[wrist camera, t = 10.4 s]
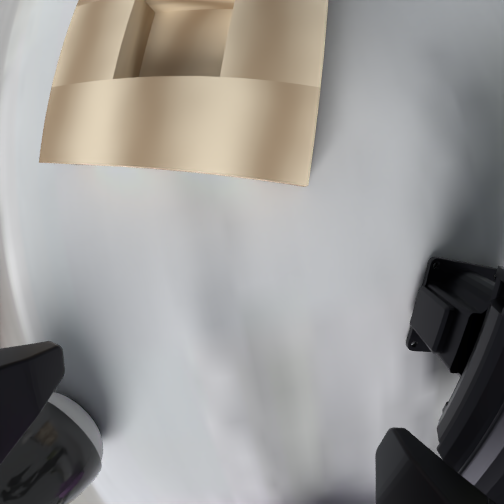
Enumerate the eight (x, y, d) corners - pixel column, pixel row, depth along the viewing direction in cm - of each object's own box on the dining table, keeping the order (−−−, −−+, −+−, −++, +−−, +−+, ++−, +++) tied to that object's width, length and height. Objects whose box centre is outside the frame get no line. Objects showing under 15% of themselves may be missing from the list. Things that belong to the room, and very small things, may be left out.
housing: (326, -26, 15) (331, -59, 11) (303, 186, 18) (308, 185, 14) (120, -20, 16) (98, -43, 12) (75, 164, 20) (39, 162, 16)
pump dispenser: (22, 371, 25) (-71, 446, 10) (92, 379, 23) (-15, 492, 8) (60, 445, 26) (-6, 525, 12) (132, 460, 25) (68, 570, 10)
